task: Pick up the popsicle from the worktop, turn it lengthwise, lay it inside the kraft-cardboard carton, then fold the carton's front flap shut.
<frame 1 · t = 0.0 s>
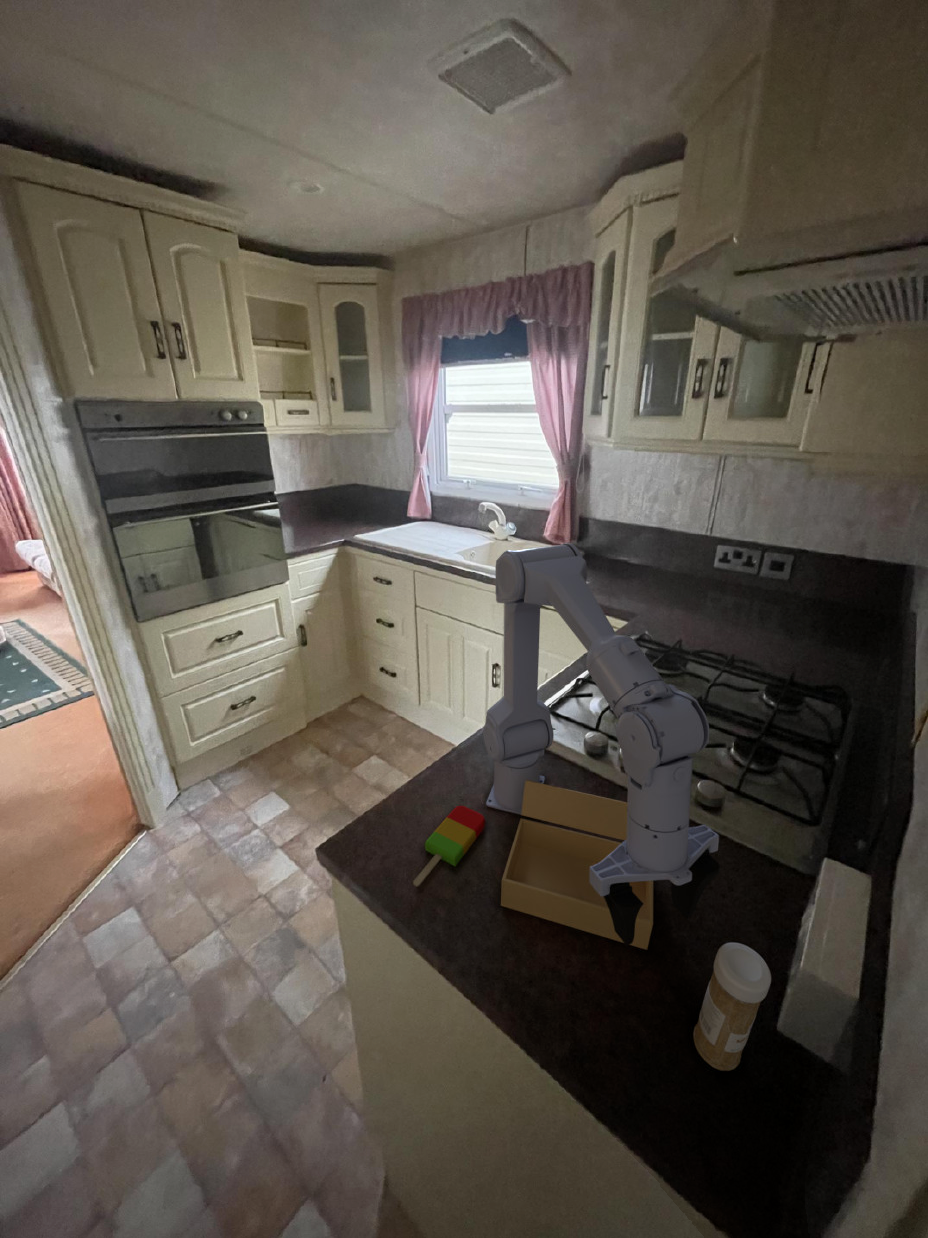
hand: (653, 923, 54), 11 cm above the worktop, tool pointing down, fingers open, 7 cm apart
popsicle: (446, 851, 76), on the worktop
flap: (587, 812, 71), point 8 cm above the worktop, hinge at 110.0°
carton: (576, 890, 69), on the worktop
sprinkles bottle: (715, 1047, 53), on the worktop
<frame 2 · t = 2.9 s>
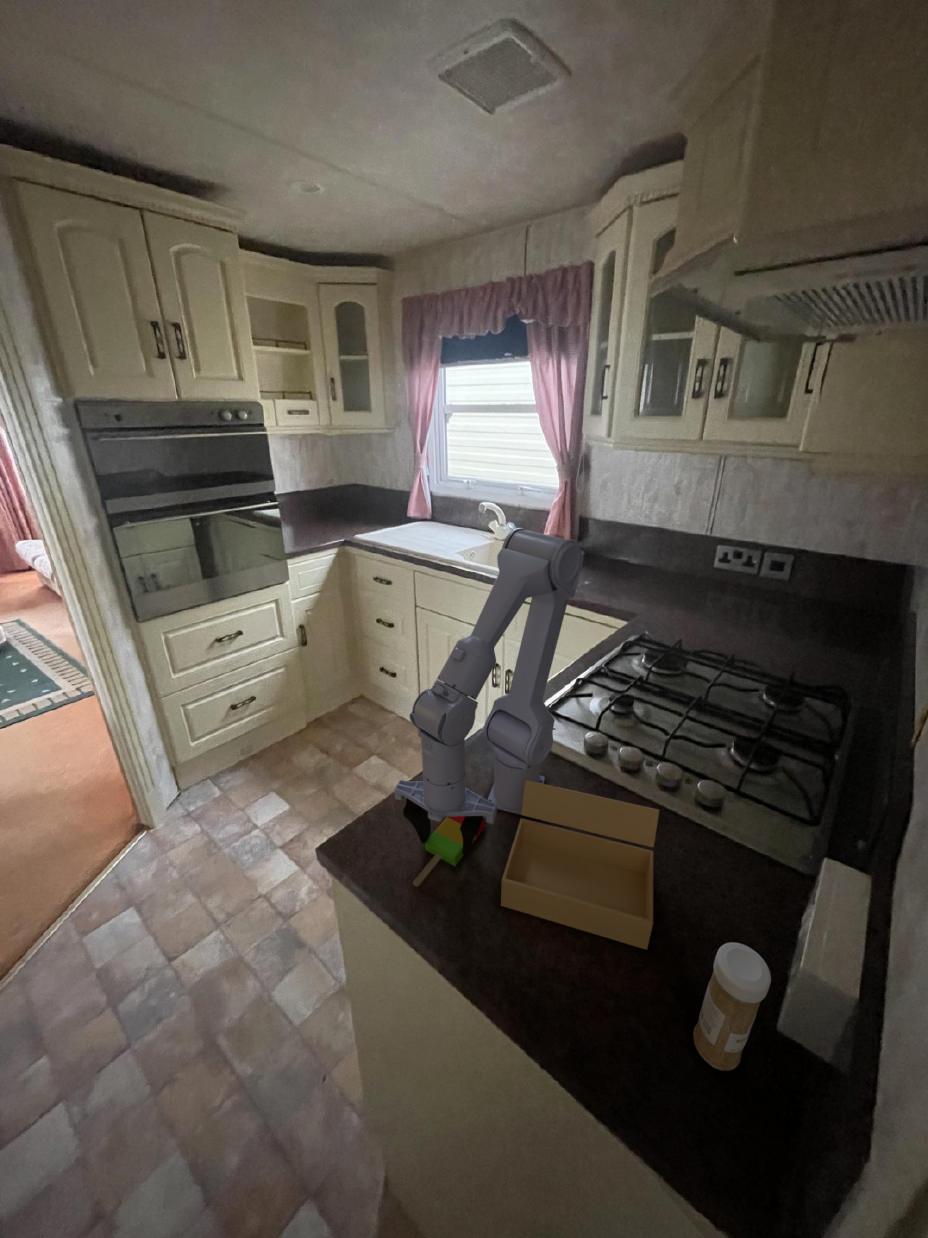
hand: (446, 844, 75), 1 cm above the worktop, tool pointing down, fingers closed on popsicle, 6 cm apart
popsicle: (446, 851, 75), on the worktop, touching gripper
everything else where it was.
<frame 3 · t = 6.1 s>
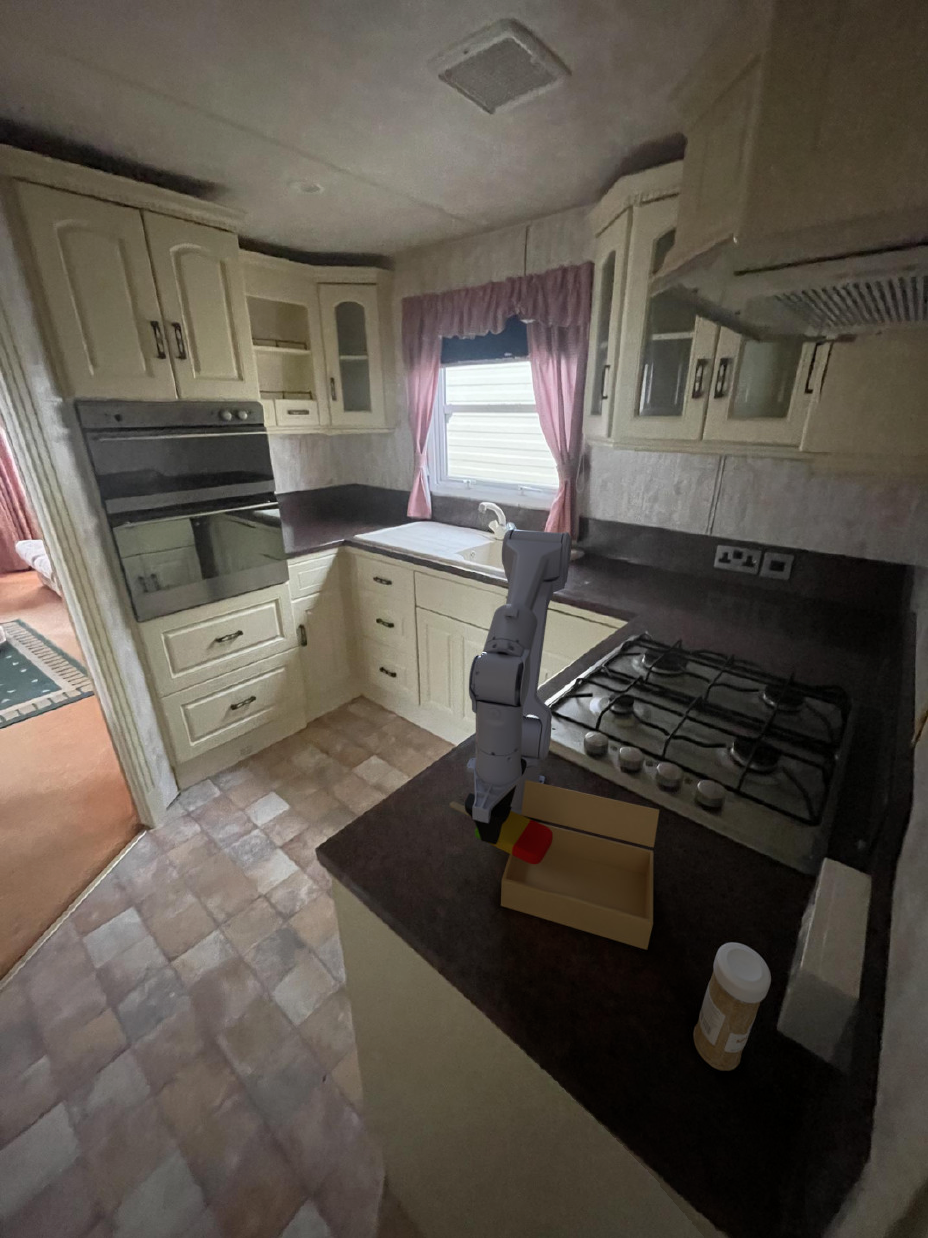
hand: (496, 822, 70), 8 cm above the worktop, tool pointing down, fingers closed on popsicle, 6 cm apart
popsicle: (496, 830, 70), point 7 cm above the worktop, touching gripper
everything else where it was.
when the fingers open (2 cm above the worktop, at t = 9.4 s): popsicle stays where it is, resting on carton.
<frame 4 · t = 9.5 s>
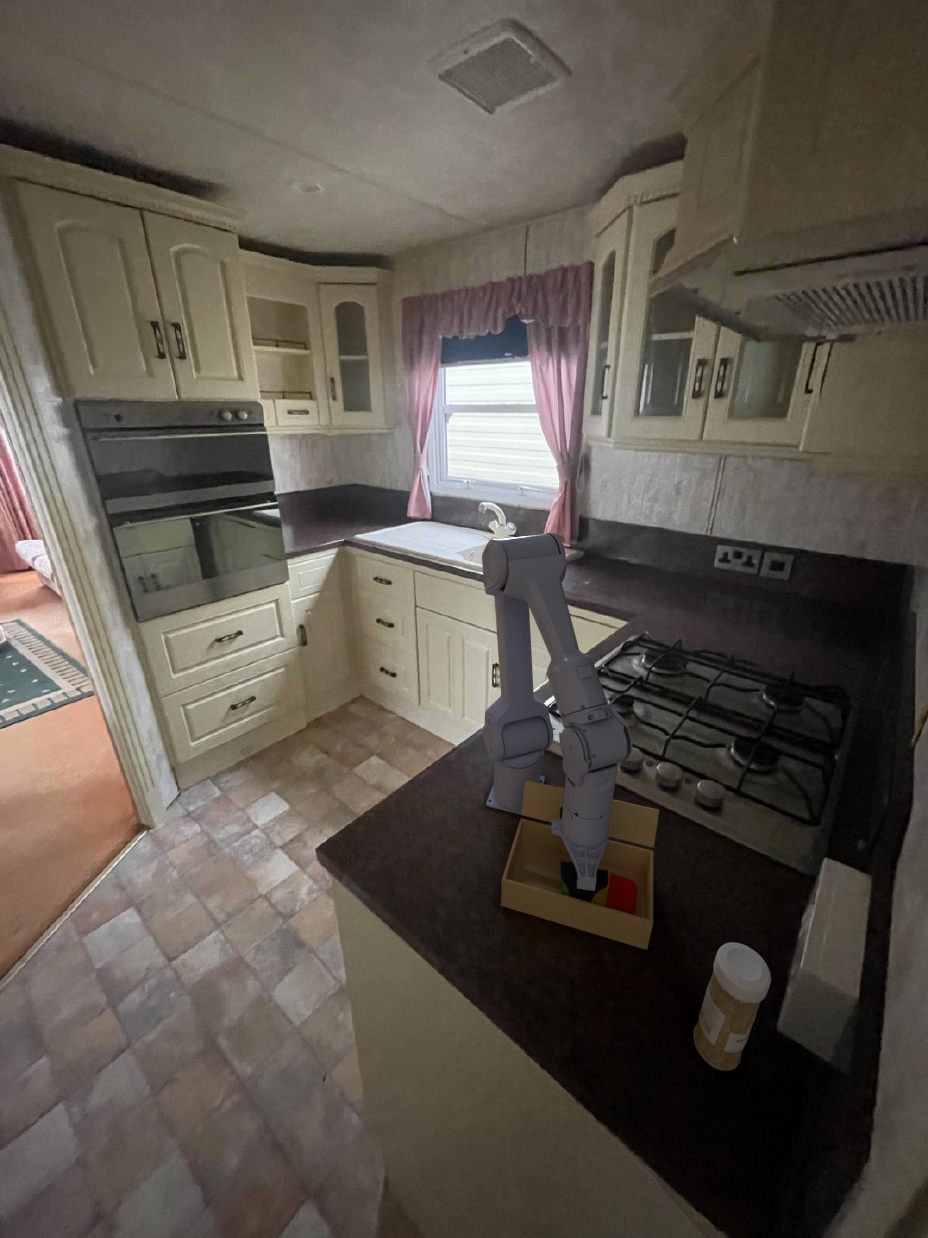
hand: (577, 879, 68), 2 cm above the worktop, tool pointing down, fingers open, 7 cm apart
popsicle: (576, 889, 69), resting on carton
everything else where it was.
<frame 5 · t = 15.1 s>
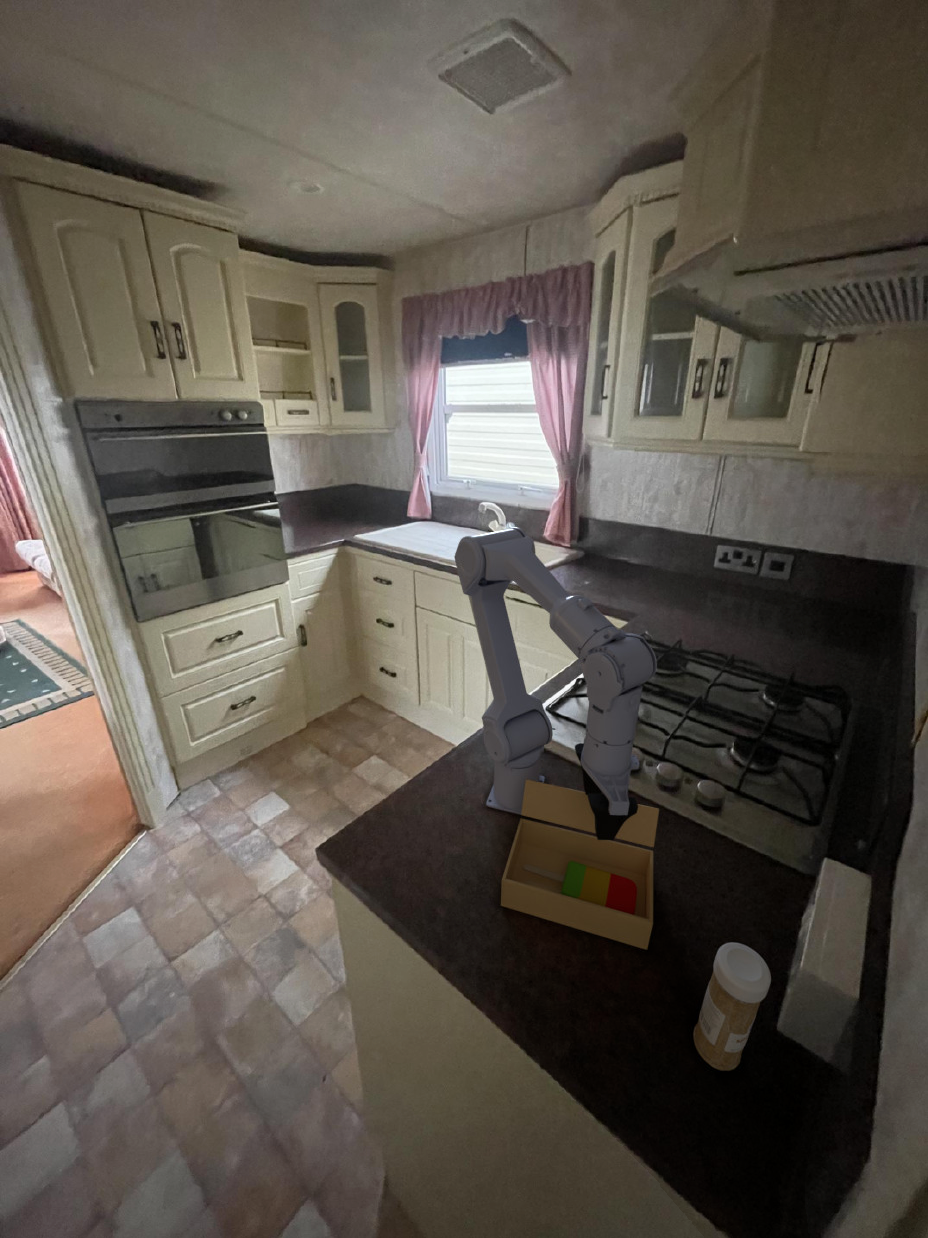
hand: (598, 814, 68), 10 cm above the worktop, tool pointing down, fingers open, 7 cm apart
flap: (587, 812, 72), point 8 cm above the worktop, hinge at 114.0°
everything else where it was.
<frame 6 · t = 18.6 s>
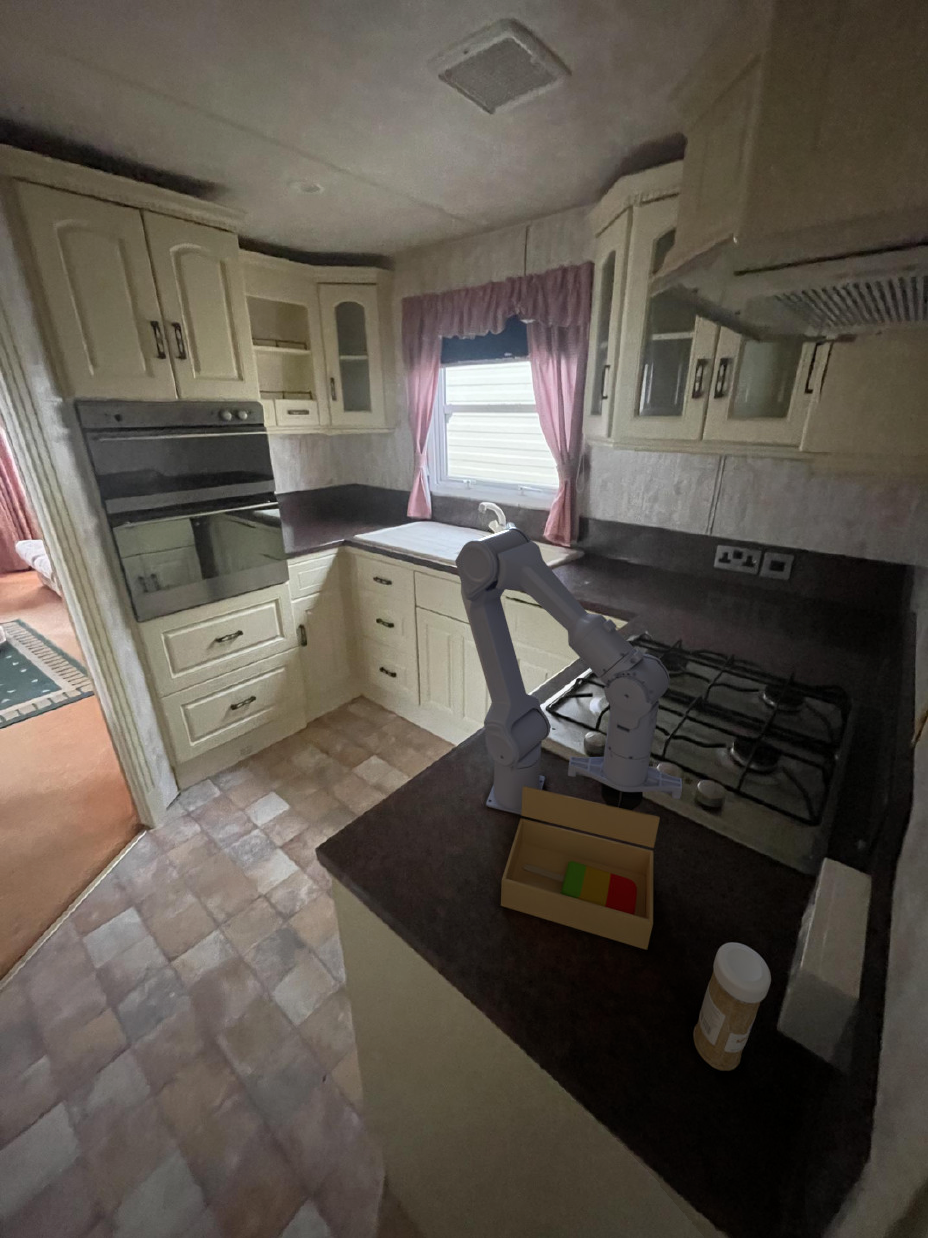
hand: (616, 822, 73), 6 cm above the worktop, tool pointing down, fingers closed, pressing on flap
flap: (586, 816, 71), point 8 cm above the worktop, hinge at 91.2°, touching gripper
everything else where it was.
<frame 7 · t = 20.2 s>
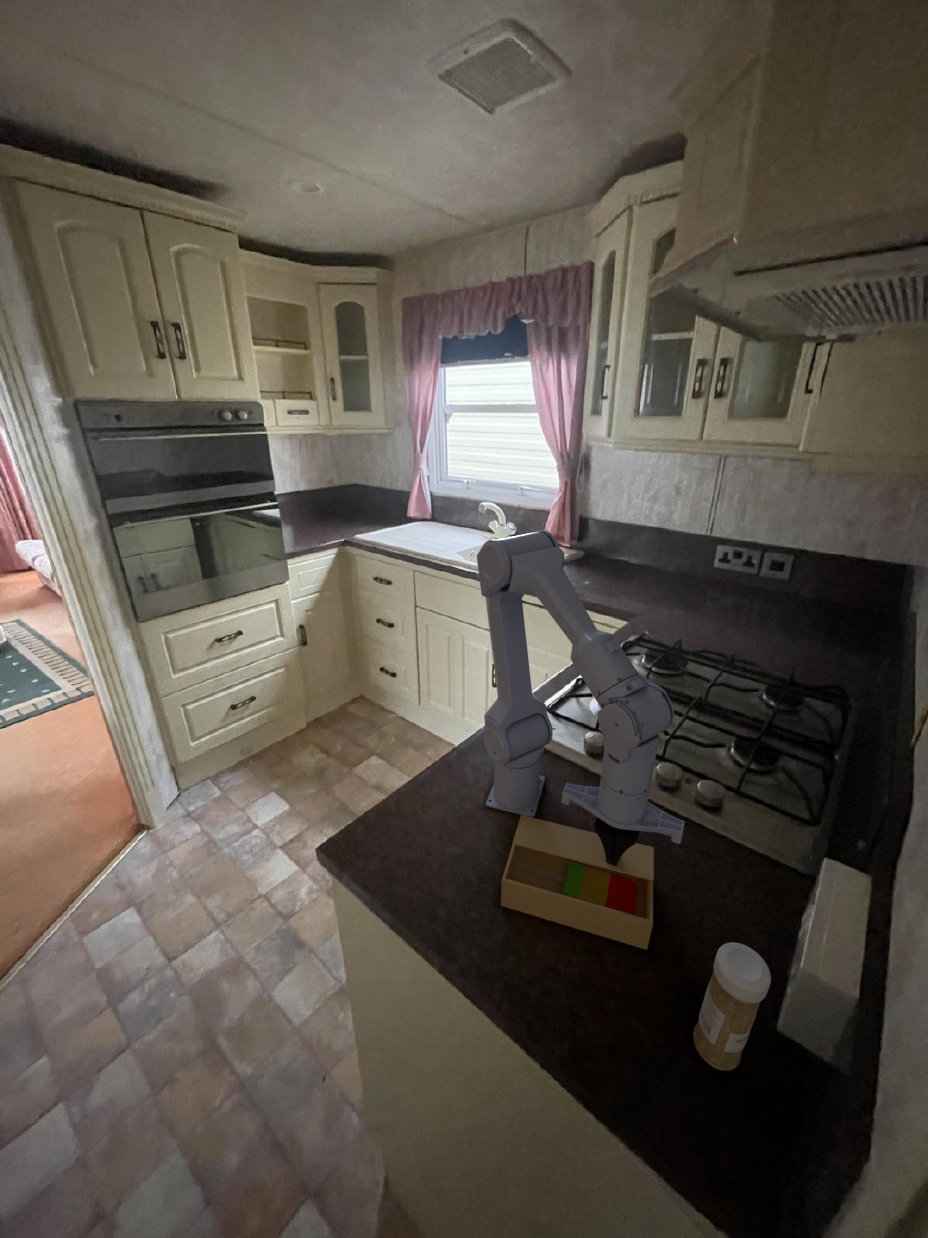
hand: (612, 859, 67), 6 cm above the worktop, tool pointing down, fingers closed, pressing on flap
flap: (582, 845, 69), point 5 cm above the worktop, hinge at 0.5°, touching gripper
everything else where it was.
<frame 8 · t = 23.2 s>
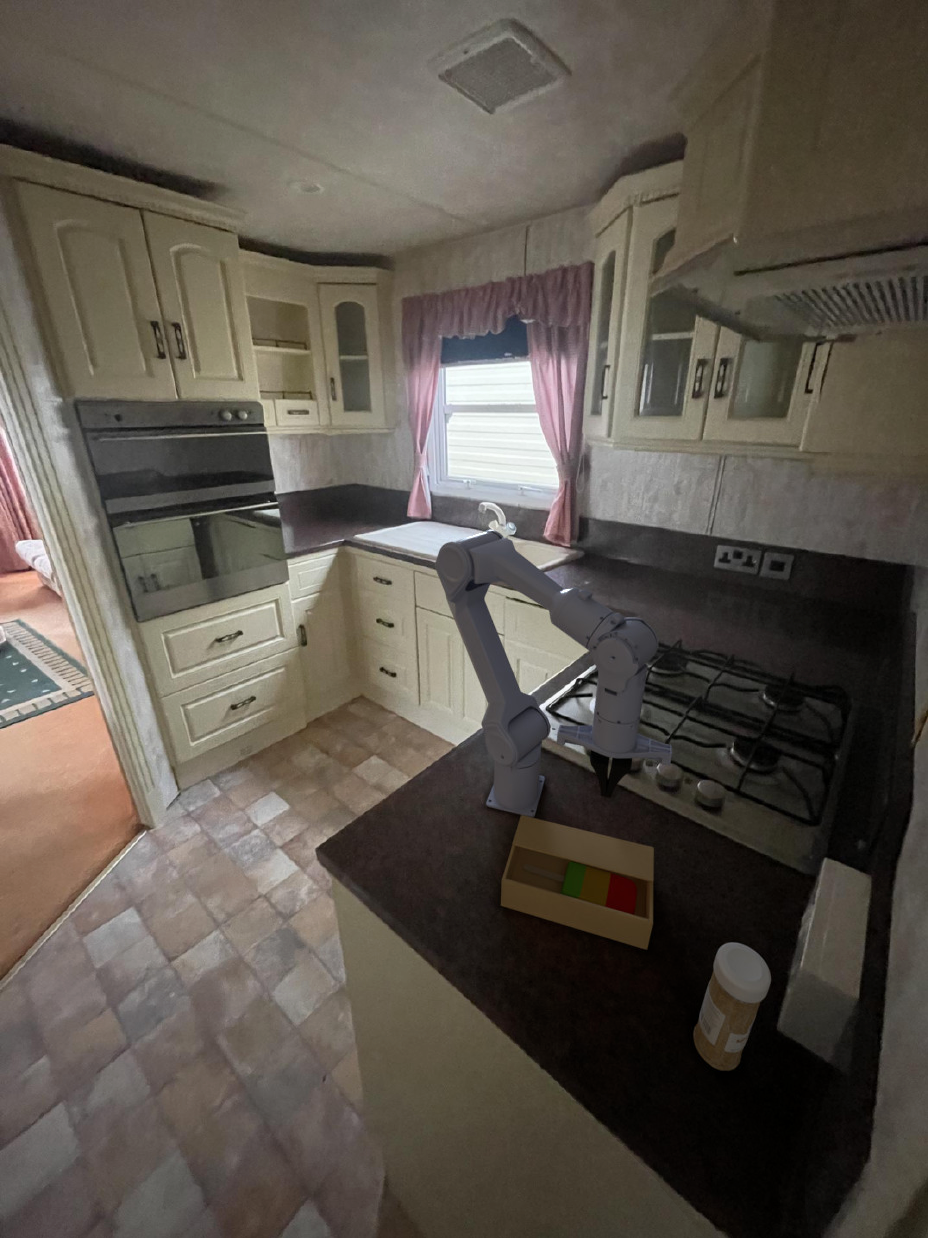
hand: (606, 792, 72), 10 cm above the worktop, tool pointing down, fingers closed
flap: (582, 846, 69), point 5 cm above the worktop, hinge at -1.2°
everything else where it was.
at the end: popsicle inside the target area in the carton (0.0 cm from its centre), point 0.2 cm above the carton's base; flap at -1° (first picture: +110°) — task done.
